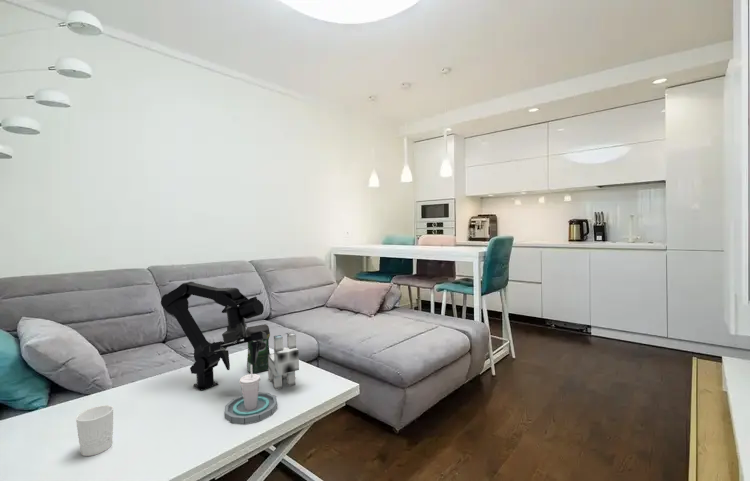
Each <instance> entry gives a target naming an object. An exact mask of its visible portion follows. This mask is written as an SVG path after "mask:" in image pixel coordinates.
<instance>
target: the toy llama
mask: <svg viewBox="0 0 750 481" xmlns="http://www.w3.org/2000/svg"><path fill="white" fill-rule="evenodd" d="M286 335H287V338H286V339H287V347H285V346H284V345H283V344H284V343H283V340H284V339H283V335H280V334H279V335H274V336H273V353H270V354H268V370H267V371H268V381H269V382H270V383H271V382H273V389H274V390H275V391H277V390H280V389H283V380H284V379H286V385H287V387H292V386H296V371H297V372H298V371H300V359H299V357H300V356H299V355H300V353H299V351H300V350H299V348H297V333H295V332H290V333H289V332H288V333H287V334H286Z"/></svg>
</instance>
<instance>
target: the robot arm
mask: <svg viewBox="0 0 750 481" xmlns="http://www.w3.org/2000/svg"><path fill="white" fill-rule="evenodd" d="M191 296H196V297H201V298H205V299H207V300H208V299H209V300H212V301H213V302H215V304H218V305H220V306H221V307H224V308H223V309H222V310H221V313H222V314H226V318H227V326H226V331H224V332H223V333H222V334H221V336H222V339H223V340H222V341H221V340H219V341H216V342H215V341H212V342H209V341H208V340H207V339H206V337H205V335H204V334H203V332H202V330H201V328H200V327H199V325H198V324H197V322H196V320H195V319H194V317H193V315H192V314H191V312H190V310H189V304H190V302H189V298H190V297H191ZM160 305H161V307H162V308H163V309H164V311H166V313H167V314H169V315H171V316H173V317H174V318H175V319H176V321H177V322H178V325H179V326H180V328H181V329H182V331H183V332H184V334H185V336H186V338H187V339H188V341H189V342H190V344H191V346H192V347H193V348H192V349H193V359H194V361H195V362H194V363H193V364H192V365H191V366H190V367H189V370H190V373H191V374H194V375H196V383H194V384H192V385H193V388H195V389H197V390H199V391H204V390H206V389H209V388H212V387H215V386H217V385H218V382H217V381H216V380H214V368H215V367H217V366H219V362H220V361H222V362H223V364H224V366H225V369H226V370H227V371H230V370H231V369H230V366H231V365H230V356H229V352H230V351H229V350H227V348H230V347H234V346H237V345H242V344H246V343H247V344H248V342H251V341H253V342H252V343H251V345H252V351H253V362H254V364H255V363H256V360H257V356H258V353H259V350H260V347H261V344H262V343H264V341H263V340H267V334H266V333H265V332H262V331H260V332H256V333H252V334H251V336H249V337H248V335H247V334H246V329H247V327H248V326H247V324H246V321H245V319H246V320H248V319H249V320H250V319H251V318H255V317H258V316H261V315H262V314H264V304H263V303H262V302H261V301H260V299H258V298H257V296H252V297H251V298H249V297H247V296H245V295H244V294H243V293H241V291H240V289H239V288H237V287H215V286H212V285H211V286H210V285H205V284H202V283H196V282H194V281H188V282H184V283H181V284H180V285H179V286H178V287H176V288H174V289H173V290H171V291H169V292H168V293H166V294H164V295H162V297H161V300H160Z"/></svg>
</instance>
